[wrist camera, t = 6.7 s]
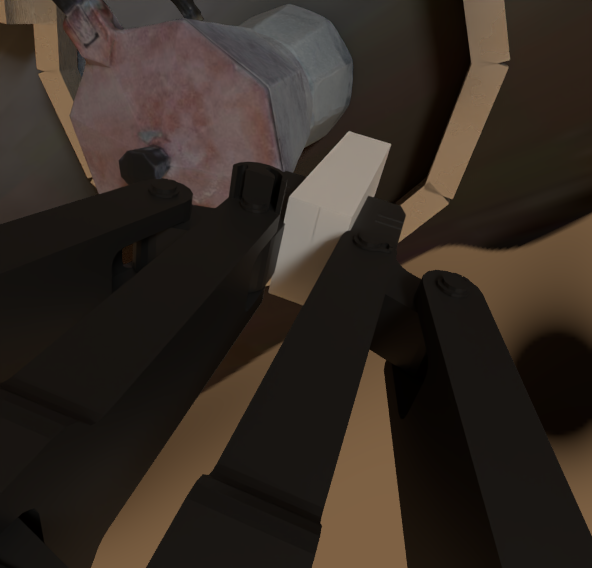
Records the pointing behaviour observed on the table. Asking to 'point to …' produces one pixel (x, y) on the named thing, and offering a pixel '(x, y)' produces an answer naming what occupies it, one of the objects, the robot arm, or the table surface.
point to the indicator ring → (454, 143)
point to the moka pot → (203, 94)
